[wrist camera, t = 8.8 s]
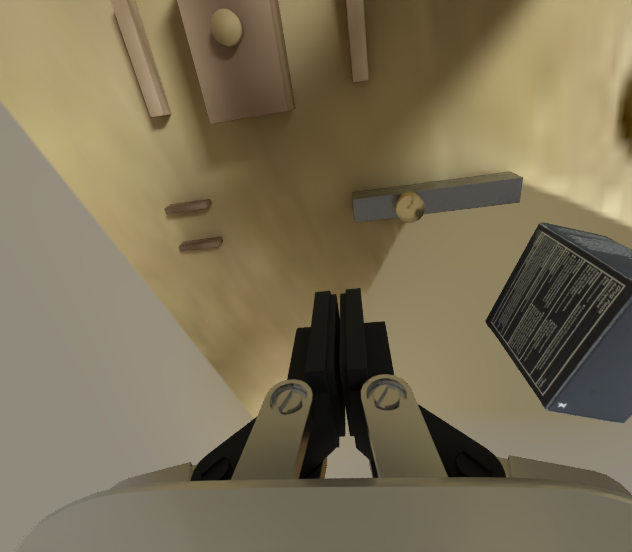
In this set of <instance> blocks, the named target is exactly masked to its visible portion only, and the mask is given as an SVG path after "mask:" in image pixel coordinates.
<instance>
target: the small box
mask: <svg viewBox="0 0 632 552" xmlns="http://www.w3.org/2000/svg"><path fill="white" fill-rule="evenodd" d="M486 324H487V325H488V327H489V328H490V329H491V330H492V331H493V332H494V334H495V335H496V337H497V338H498V339H499V341H500V342H501V344H502V345H503V347H504V349H505V350H506V351H507V353H508V354H509V356H510V357H511V359H512V360H513V362H514V363H515V365H516V366H517V368H518V369H519V370H520V372H521V373H522V375H523V376H524V378H525V379H526V381H527V382H528V384H529V385H530V387H531V388H532V389H533V391H534V392H535V394H536V395H537V397H538V398H539V400H540V401H541V403H542V405H543V407H544V408H545V410H547V411H551V412H557V413H564V414H570V415H575V416H581V417H587V418H593V419H599V420H604V421H610V422H618V423H624V422H625V421H626V420H627V419H628V418H629V417H630V416H631V415H632V250H631V249H629V248H627V247H625V246H623V245H621V244H619V243H617V242H615V241H613V240H612V239H610V238H608V237H606V236H602V235H598V234H593V233H589V232H584V231H580V230H575V229H571V228H566V227H561V226H557V225H552V224H548V223H540V224H539V225H538V227H537V229H536V230H535V232H534V234H533V236H532V237H531V239H530V241H529V243H528V245H527V246H526V249H525V250H524V252H523V254H522V255H521V258H520V259H519V261H518V263H517V265H516V266H515V268H514V270H513V272H512V274H511V276H510V277H509V279H508V281H507V283H506V285H505V286H504V289H503V290H502V292H501V294H500V295H499V297H498V299H497V301H496V303H495V305H494V306H493V308H492V310H491V312H490V314H489V316H488V317H487V319H486Z"/></svg>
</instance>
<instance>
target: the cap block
mask: <svg viewBox="0 0 632 552" xmlns="http://www.w3.org/2000/svg"><path fill="white" fill-rule="evenodd" d="M177 2H178V6H179V9H180V13H181V17H182V21H183V24H184V28H185V32H186V35H187V39H188V43H189V47H190V50H191V54H192V58H193V61H194V65H195V69H196V73H197V76H198V80H199V84H200V87H201V91H202V95H203V99H204V102H205V106H206V110H207V113H208V117H209V121H210V124H212V123H218V122H224V121H230V120H237V119H243V118H249V117H255V116H261V115H267V114H273V113H279V112H285V111H289V110H292V109H295V104H294V97H293V91H292V85H291V79H290V72H289V66H288V60H287V53H286V47H285V41H284V34H283V28H282V22H281V15H280V9H279V3H278V0H177Z"/></svg>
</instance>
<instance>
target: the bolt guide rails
mask: <svg viewBox="0 0 632 552" xmlns="http://www.w3.org/2000/svg"><path fill="white" fill-rule="evenodd" d="M110 1H111V4H112V7H113V10H114V12H115V15H116V18H117V21H118V24H119V27H120V30H121V33H122V36H123V38H124V41H125V44H126V47H127V50H128V53H129V56H130V59H131V62H132V64H133V67H134V70H135V73H136V76H137V79H138V82H139V85H140V87H141V90H142V93H143V96H144V99H145V102H146V105H147V108H148V111H149V113H150V116H151V117H156V116H163V115H168V114H171V112H170V109H169V106H168V103H167V100H166V96H165V93H164V90H163V87H162V84H161V81H160V78H159V74H158V71H157V68H156V65H155V62H154V59H153V56H152V53H151V49H150V46H149V43H148V40H147V37H146V34H145V31H144V27H143V24H142V21H141V18H140V15H139V12H138V9H137V6H136V2H135V0H110ZM346 10H347V22H348V33H349V45H350V57H351V69H352V80H353V83H354V82H360V81H366V80H369V78H368V63H367V48H366V33H365V17H364V2H363V0H346Z"/></svg>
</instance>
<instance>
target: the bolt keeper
mask: <svg viewBox="0 0 632 552" xmlns="http://www.w3.org/2000/svg"><path fill="white" fill-rule="evenodd" d="M210 205H211V200H210V199H207V200H200V201H193V202H185V203H178V204H171V205H169V206H168V207H166V208H165V212H166V214H167V213H174V212H181V211H189V210H196V209H204V208H207V207H208V206H210ZM222 241H223V240H222V237H217V238H208V239H200V240H192V241H184V242H183V243H182V244H181V245H180V246H179V250H180V251H186V250H194V249H202V248H211V247H219V245H220V244H221V243H222Z"/></svg>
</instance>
